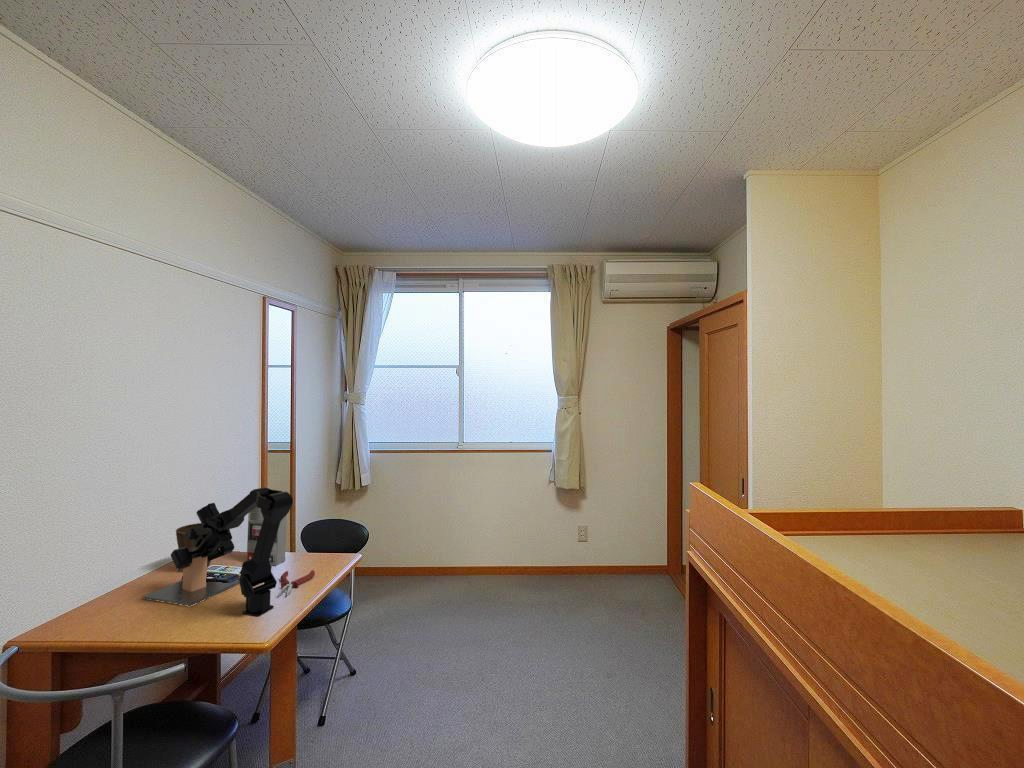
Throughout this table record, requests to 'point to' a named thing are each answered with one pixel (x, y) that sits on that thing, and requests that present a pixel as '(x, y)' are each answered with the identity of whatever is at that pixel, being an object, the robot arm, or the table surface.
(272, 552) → the grey electrical device
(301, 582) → the pliers
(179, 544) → the plant pot
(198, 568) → the sleeve
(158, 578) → the table surface
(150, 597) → the plate
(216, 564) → the table surface
